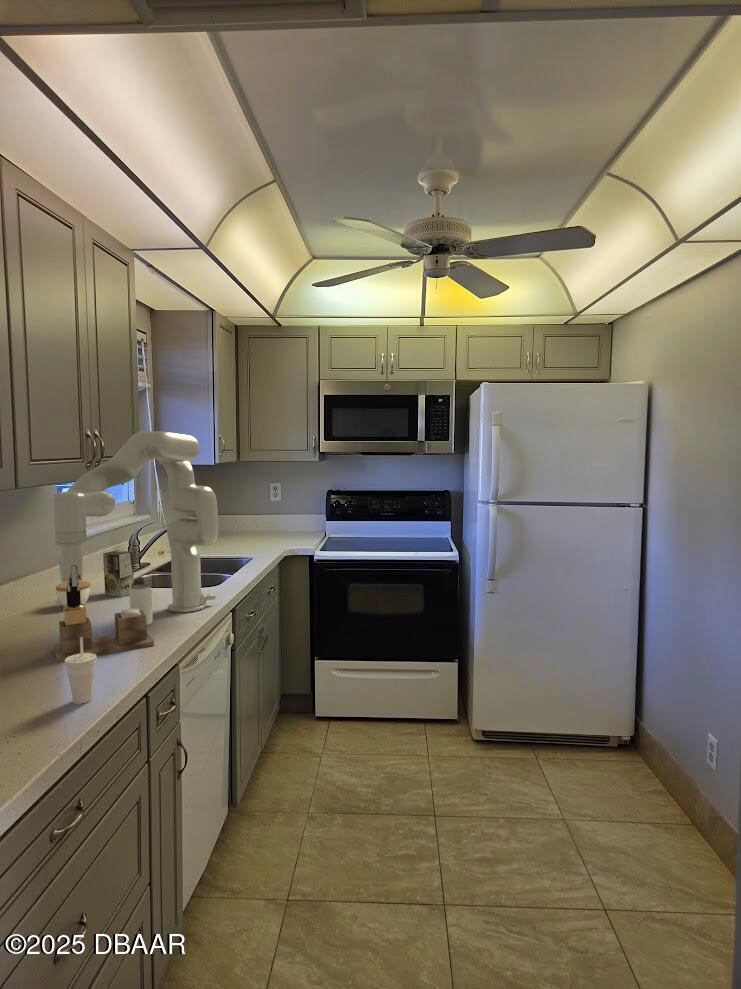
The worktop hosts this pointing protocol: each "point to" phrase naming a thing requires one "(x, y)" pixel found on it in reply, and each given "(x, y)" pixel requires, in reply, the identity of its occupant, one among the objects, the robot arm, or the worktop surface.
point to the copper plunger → (74, 615)
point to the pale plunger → (129, 613)
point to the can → (142, 600)
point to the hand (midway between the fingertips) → (73, 605)
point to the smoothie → (81, 675)
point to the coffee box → (118, 573)
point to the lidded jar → (62, 590)
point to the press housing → (126, 637)
